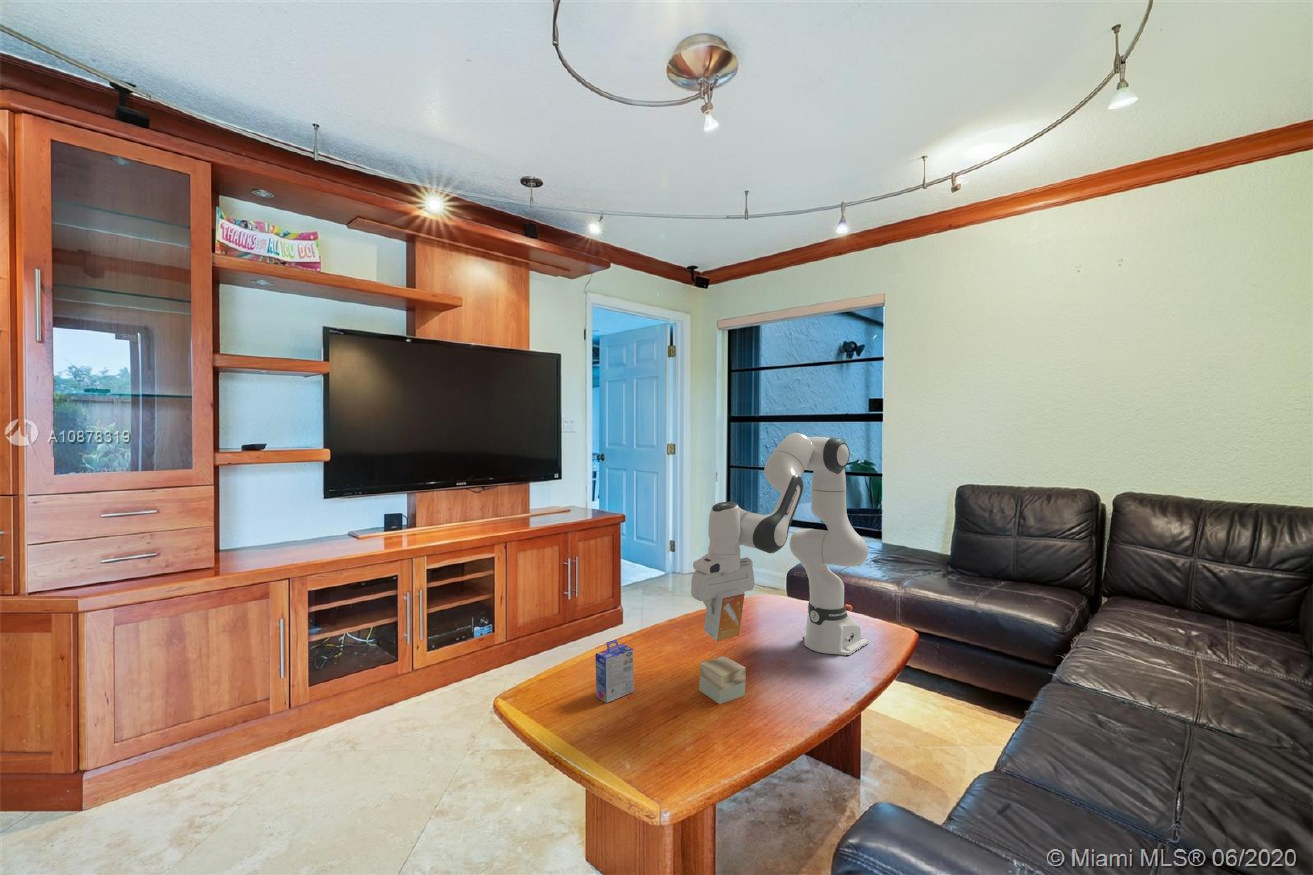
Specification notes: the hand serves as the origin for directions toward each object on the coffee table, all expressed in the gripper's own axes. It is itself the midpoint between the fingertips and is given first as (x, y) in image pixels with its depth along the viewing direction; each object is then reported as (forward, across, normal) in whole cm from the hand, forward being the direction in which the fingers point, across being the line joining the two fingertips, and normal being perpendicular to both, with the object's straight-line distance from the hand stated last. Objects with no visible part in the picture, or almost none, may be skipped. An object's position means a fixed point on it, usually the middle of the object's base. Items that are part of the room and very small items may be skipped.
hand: (723, 610), depth 152 cm
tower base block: (+23, 0, 0) cm, 23 cm away
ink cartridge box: (+23, +26, -15) cm, 38 cm away
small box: (+7, 0, -1) cm, 7 cm away
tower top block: (+19, 0, 0) cm, 19 cm away
